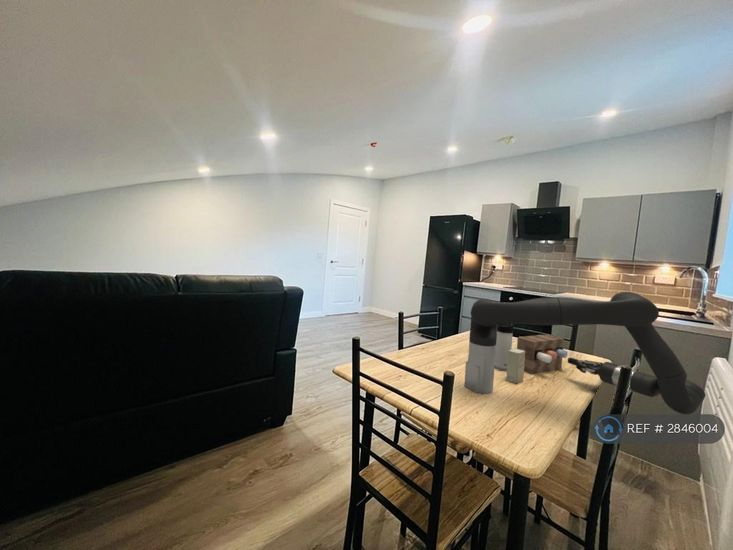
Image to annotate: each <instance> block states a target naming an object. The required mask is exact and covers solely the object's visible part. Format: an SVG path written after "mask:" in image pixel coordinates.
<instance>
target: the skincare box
mask: <svg viewBox="0 0 733 550" xmlns="http://www.w3.org/2000/svg"><path fill="white" fill-rule="evenodd" d="M524 363H525V351H523V350H519V349H517V348H515V347H514V348H512V349H511V350H509V351H508V362H507V371H506V377H505V379H506V381H508V382H511V383H514V384H520V383H521V382H523V381H524V375H525V371H524Z"/></svg>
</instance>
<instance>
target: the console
mask: <svg viewBox="0 0 733 550" xmlns="http://www.w3.org/2000/svg"><path fill="white" fill-rule="evenodd" d="M564 341H565V339H564V338H562V337H560V336H559V337H558V336H555V335H551V334H548V333H545V334H537V335H526V336H525V335H524V336H518V337H517V342H516V343H517V344H516V349H519V350H523V351H525V363H524V373H527V374H529V375H537V374H541V373H546V372H552V370H553V371H558V369H559V370H562V367H563V357H560V356H557V358H556V359H555V360H554V359H552V361H551V362H550V363H547V362H544V361H541V360H539V359H537V353H538V352H541V353H544V354H545V350H546V349H547V350H550V351H553V352H556V348H558V349H561V350H564V346H565V345H564V344H565V343H564Z"/></svg>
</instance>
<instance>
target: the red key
mask: <svg viewBox="0 0 733 550" xmlns="http://www.w3.org/2000/svg"><path fill="white" fill-rule="evenodd" d="M545 354H547V355H550V356H552V359H554V360H555V359H556V358H557V353H556V352H553V351H550V350H547V349H546V350H545Z"/></svg>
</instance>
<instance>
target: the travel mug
mask: <svg viewBox="0 0 733 550" xmlns="http://www.w3.org/2000/svg"><path fill="white" fill-rule="evenodd" d="M514 328H515V324H503V325H497V341H496V353H495V368H494V369H496V370H499V371H503V372H507V362H508V351H509V350H511V349H513V347H512V345H513V335H514V332H513V331H514V330H513V329H514Z"/></svg>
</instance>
